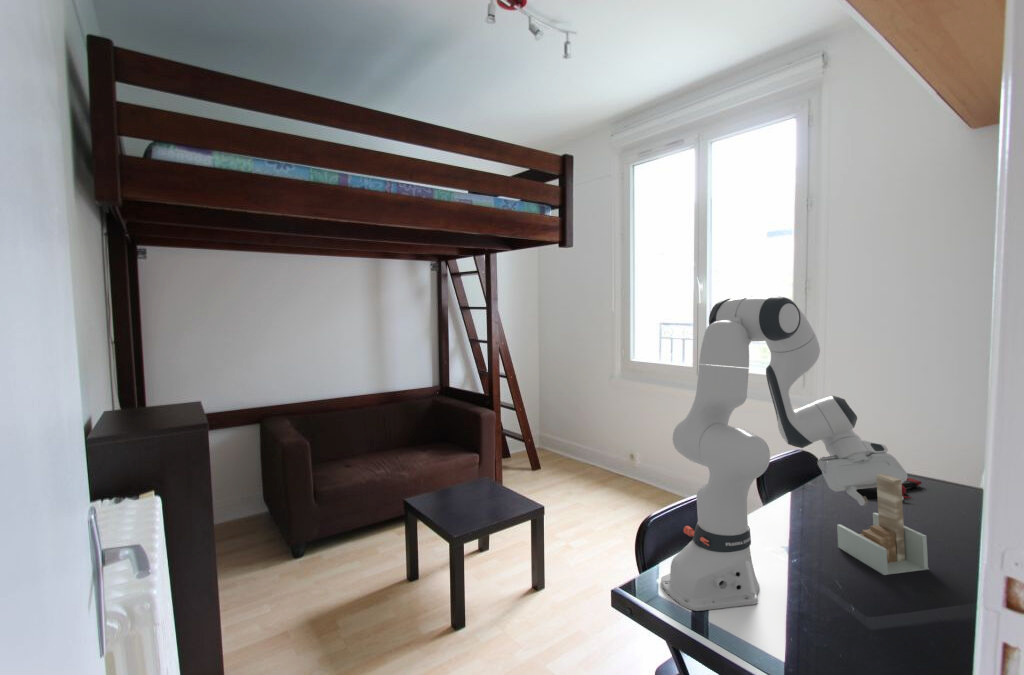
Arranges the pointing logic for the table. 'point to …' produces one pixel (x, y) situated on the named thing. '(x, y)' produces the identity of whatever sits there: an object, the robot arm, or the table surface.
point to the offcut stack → (882, 540)
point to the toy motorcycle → (873, 491)
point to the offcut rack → (885, 550)
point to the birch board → (891, 510)
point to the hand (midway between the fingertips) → (882, 502)
